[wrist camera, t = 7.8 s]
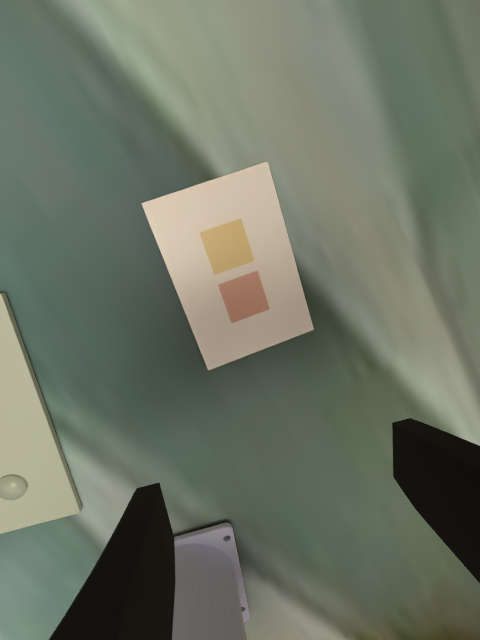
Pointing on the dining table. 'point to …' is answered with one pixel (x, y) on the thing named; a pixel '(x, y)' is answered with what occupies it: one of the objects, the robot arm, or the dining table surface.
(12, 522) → the plate
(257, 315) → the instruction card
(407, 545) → the dining table surface
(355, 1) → the dining table surface
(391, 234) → the dining table surface
